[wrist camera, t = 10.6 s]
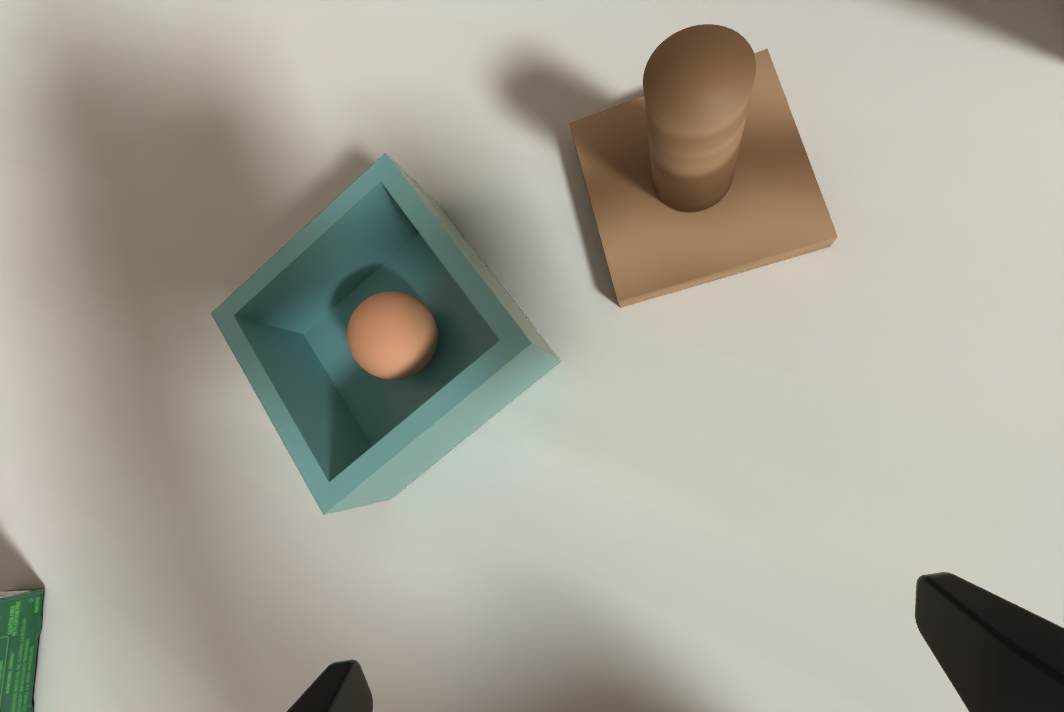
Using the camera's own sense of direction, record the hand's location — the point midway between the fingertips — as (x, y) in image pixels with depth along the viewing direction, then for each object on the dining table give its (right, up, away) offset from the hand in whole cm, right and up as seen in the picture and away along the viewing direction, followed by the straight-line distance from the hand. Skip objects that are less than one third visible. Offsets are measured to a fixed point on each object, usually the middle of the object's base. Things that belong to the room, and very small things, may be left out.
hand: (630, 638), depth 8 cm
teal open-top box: (-7, +5, +15) cm, 17 cm away
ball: (-7, +5, +15) cm, 17 cm away
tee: (+5, +11, +13) cm, 18 cm away
